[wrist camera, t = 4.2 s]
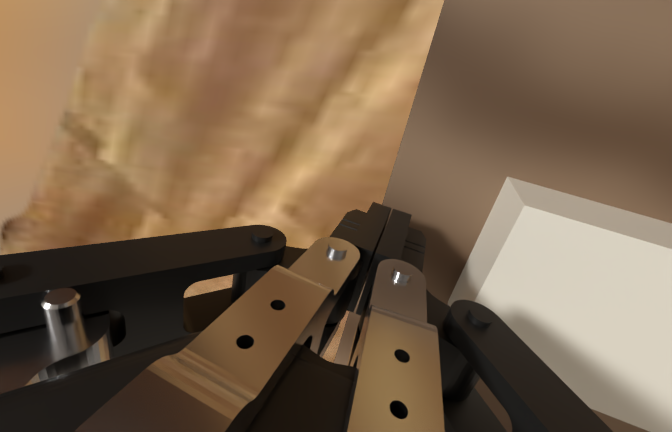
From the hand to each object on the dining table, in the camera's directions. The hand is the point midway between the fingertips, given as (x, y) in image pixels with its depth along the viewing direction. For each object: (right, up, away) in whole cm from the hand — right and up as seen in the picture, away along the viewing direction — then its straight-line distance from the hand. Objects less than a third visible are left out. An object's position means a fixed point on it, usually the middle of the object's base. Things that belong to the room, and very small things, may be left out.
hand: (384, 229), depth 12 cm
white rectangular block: (+8, -2, 0) cm, 9 cm away
